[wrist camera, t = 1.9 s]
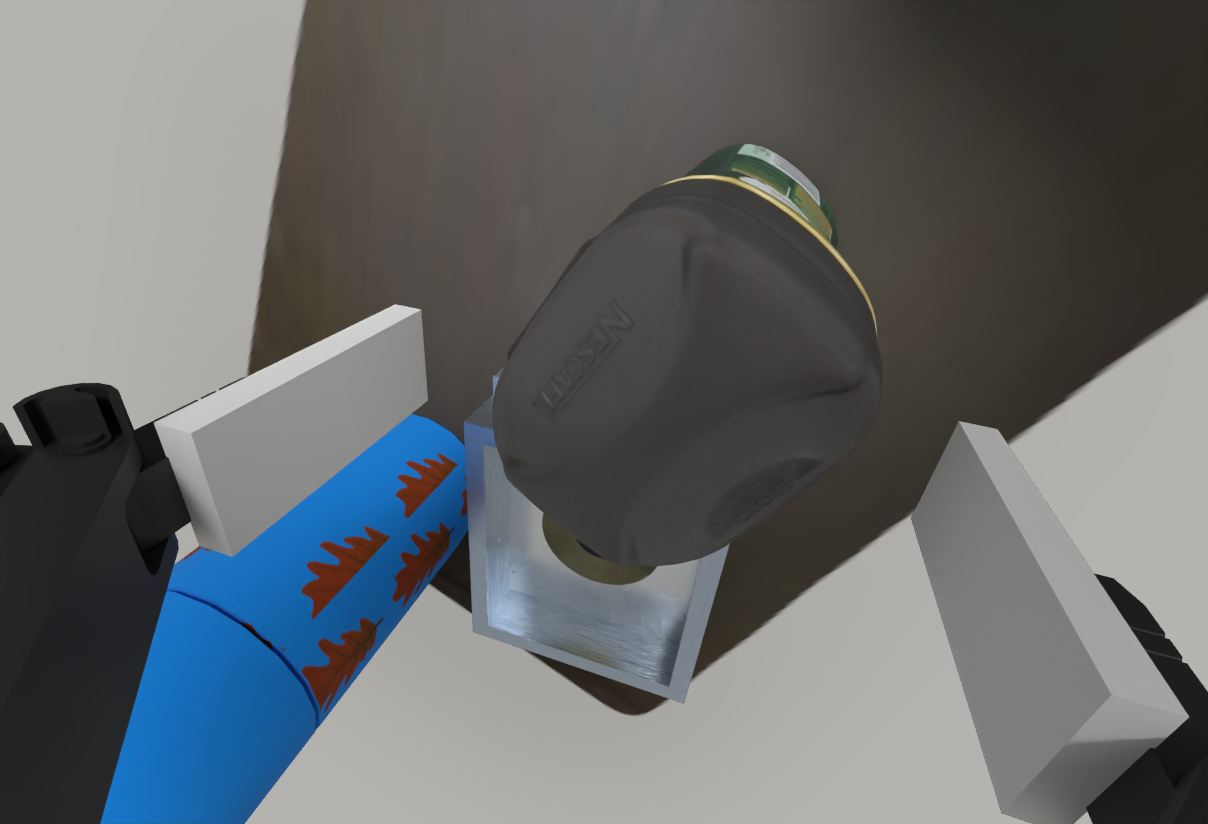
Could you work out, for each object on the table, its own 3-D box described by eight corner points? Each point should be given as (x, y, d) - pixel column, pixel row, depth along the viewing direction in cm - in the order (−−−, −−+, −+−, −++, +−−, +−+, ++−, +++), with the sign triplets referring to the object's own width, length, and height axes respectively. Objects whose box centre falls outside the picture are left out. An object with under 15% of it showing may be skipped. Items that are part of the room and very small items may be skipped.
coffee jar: (724, 368, 30) (650, 645, 15) (613, 274, 30) (413, 461, 14) (870, 226, 25) (994, 424, 9) (739, 109, 24) (640, 113, 9)
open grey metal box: (760, 381, 30) (749, 474, 22) (703, 595, 39) (681, 713, 31) (539, 334, 33) (463, 403, 25) (532, 544, 41) (473, 642, 34)
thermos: (366, 507, 45) (-5, 856, 24) (351, 394, 39) (-149, 719, 19) (487, 546, 43) (194, 965, 22) (488, 432, 37) (99, 848, 16)
